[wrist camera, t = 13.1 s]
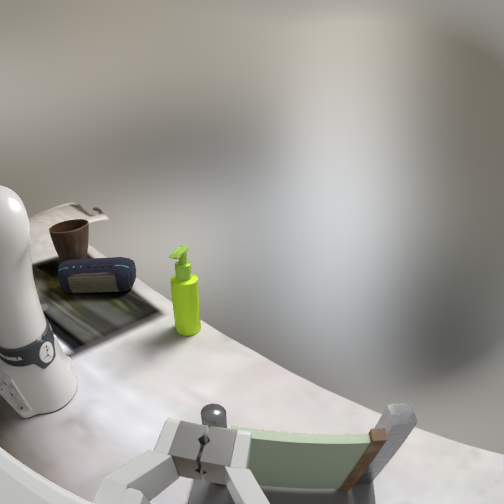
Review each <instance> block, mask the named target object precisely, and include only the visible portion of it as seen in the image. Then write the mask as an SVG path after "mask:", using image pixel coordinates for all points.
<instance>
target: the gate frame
mask: <svg viewBox="0 0 504 504" xmlns="http://www.w3.org/2000/svg"><path fill="white" fill-rule="evenodd" d="M201 418H202V424H203V425H206V426H208V428H210V427H211V426H213V427H221V428H227V422H226V410H225V409H224V408H223V407H222V406H221V405H218V404H209V405H206V406H205V407H203V409H202V410H201ZM416 424H417V419H416V416H415V413H414V410H413V407H412V404H411V403H399V404H388V405H387V407H386V408H385V410H384V412H383V414H382V416H381V418H380V420H379V421H378V423H377V425H376V427H375V428H374V429H382V428H385V431H386V436H387V441H386V442H385V444H384V445H383V447H382V448H381V450H380V451H379V453H378V454H377V455H376V457H375V458H374V460H373V461H372V462H371V464H370V465H369V466H368V468H367V469H366V470H365V472H364V473H363V474H362V476H361V477H360V478H359V479H358V481H357V482H356V483H355V484H354V486H353V487H352V488H351V489H350V490H349V491H338V489H302V488H283V487H271V486H261V485H259V486H260V488H261V490H262V491H263V493H264V495H265V496H266V498H267V500H268V501H269V503H270V504H375V495H374V486H373V480H374V479H375V478H376V476H377V475H378V474H379V473H380V472H381V471H382V469H383V468H384V467H385V466H386V464H387V463H388V462H389V461H390V459H391V458H392V457H393V456H394V454H395V453H396V452H397V450H398V449H399V448H400V446H401V445H402V444H403V442H404V441H405V439H406V438H407V437H408V435H409V434H410V432H411V431H412V430H413V428H414V427H415V425H416ZM203 473H204V472H203ZM188 504H235V502H234V500H233V498H232V496H231V494H230V492H229V490H228V488H227V485H224V484H218V483H213V482H208V481H205V480H204V476H202V479H201V480H197V479H195V481H194V484H193V488H192V491H191V495H190V498H189V502H188Z"/></svg>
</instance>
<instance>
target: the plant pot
mask: <svg viewBox="0 0 504 504" xmlns="http://www.w3.org/2000/svg"><path fill="white" fill-rule="evenodd" d="M49 231H50V235H51V238H52V241H53V244H54V246H55V249H56V251H57V253H58V256H59V258H60V260H61V261H62V262H65V261H68V260H78V259H86V258H87V250H88V221H87V220H83V219H76V220H69V221H64V222H61V223H58V224H56V225H54V226H52V227H51V228H50V229H49Z"/></svg>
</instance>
